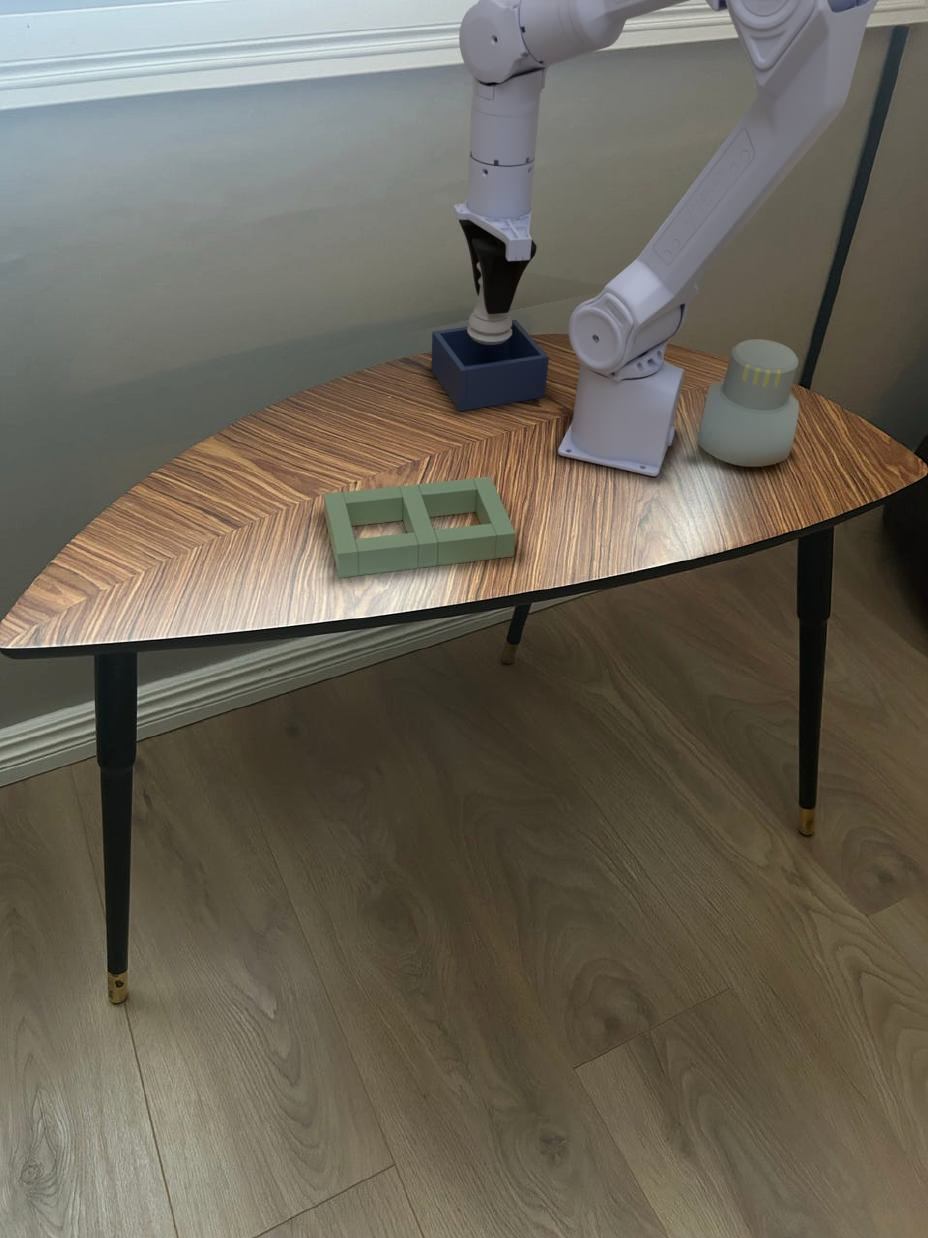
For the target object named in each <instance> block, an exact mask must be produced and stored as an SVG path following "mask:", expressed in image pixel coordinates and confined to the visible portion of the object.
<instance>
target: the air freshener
mask: <svg viewBox="0 0 928 1238" xmlns="http://www.w3.org/2000/svg"><path fill="white" fill-rule="evenodd" d="M799 364H800V363H799V358H798V356H797V355H796V353H795V351H794V350H792V349H791V348H789V347H788V346H786V345H785V344H782V343H780V342H777V341H773V340H768V339H761V338H760V339H759V338H756V339H755V338H754V339H746V340H743V341H741V342H739V343H738V344H736V345H734V346H733V348H732V350H731V353H730V356H729V361H728V365H727V369H726V373H725V376H724V379H723V380H719V381H717V382H714V383H712V384H710V385H708V390H707V393H706V396H705V397H706V398H705V402H704V406H703V411H702V415H701V420H700V424H699V428H698V433H697V437H696V443H697V444H698V445H699V446H700V448H702V449H703V450H704V451H705V452H706V453H708V454H709V455H710V456H712V457H714V458H716V459H718V460H720V461H722V462H724V463H727V464H731V465H734V466H739V467H748V468H759V467H767V466H771V465H776V464H778V463H781V462H784V461H786V460H787V459H788V458H789V456H790V454H791V450H792V447H793V445H794V440H795V435H796V431H797V426H798V420H799V411H800V402H799V400H798V399H796V398H795V396H794V395H793V394H791V391H792V387H793V385H794V384H793V383H794V381H795V376H796V373H797V369H798V366H799Z"/></svg>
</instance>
